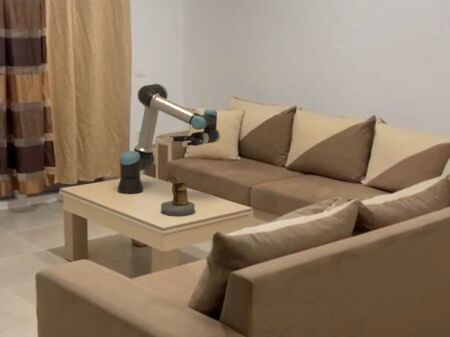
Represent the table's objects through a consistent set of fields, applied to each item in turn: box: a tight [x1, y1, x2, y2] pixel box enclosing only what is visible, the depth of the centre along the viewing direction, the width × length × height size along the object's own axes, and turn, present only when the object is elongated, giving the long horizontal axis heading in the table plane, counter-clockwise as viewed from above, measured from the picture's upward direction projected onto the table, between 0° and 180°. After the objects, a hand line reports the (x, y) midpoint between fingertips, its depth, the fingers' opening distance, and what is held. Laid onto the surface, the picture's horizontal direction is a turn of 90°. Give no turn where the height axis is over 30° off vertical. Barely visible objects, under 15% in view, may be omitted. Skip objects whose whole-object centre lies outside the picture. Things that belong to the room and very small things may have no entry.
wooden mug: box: [167, 173, 190, 206], centre depth 401 cm, size 9×14×18 cm, turn 140°
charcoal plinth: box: [160, 200, 196, 217], centre depth 403 cm, size 18×18×4 cm
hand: (173, 142), depth 412 cm, fingers open, 13 cm apart
